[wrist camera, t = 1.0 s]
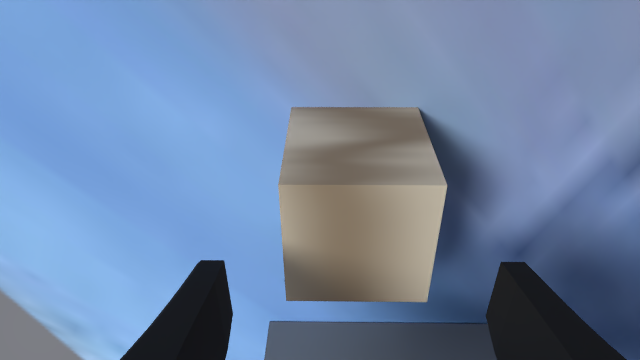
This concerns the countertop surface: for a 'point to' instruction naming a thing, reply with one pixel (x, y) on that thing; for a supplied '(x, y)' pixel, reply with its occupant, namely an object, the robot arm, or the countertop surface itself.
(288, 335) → the low pen
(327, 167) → the birch block
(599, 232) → the countertop surface
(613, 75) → the countertop surface
